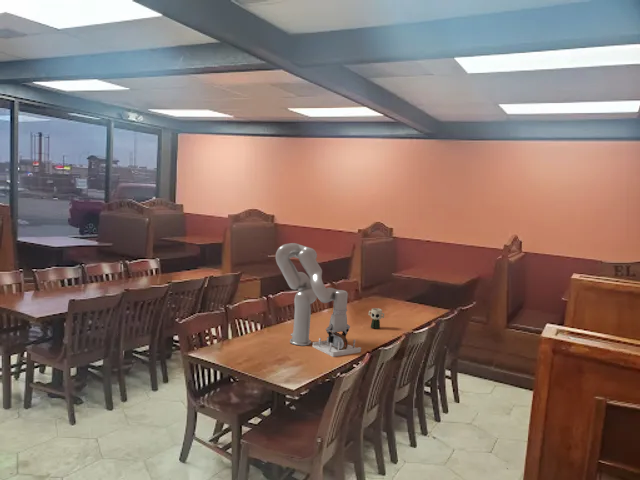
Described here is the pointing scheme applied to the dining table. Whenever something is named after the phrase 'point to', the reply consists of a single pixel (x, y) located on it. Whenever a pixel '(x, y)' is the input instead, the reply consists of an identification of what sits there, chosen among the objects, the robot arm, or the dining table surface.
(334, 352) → the dish rack
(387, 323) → the dining table surface
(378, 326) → the character mug
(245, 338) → the dining table surface
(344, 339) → the tin
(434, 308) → the dining table surface
